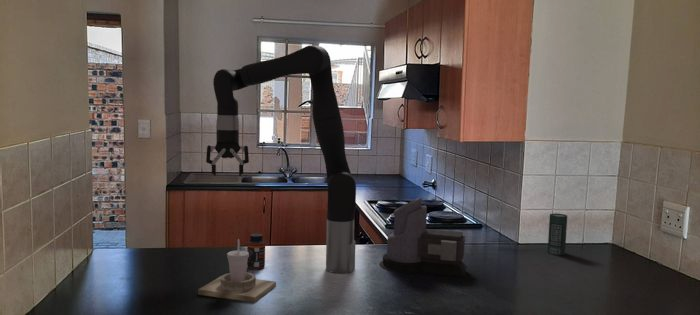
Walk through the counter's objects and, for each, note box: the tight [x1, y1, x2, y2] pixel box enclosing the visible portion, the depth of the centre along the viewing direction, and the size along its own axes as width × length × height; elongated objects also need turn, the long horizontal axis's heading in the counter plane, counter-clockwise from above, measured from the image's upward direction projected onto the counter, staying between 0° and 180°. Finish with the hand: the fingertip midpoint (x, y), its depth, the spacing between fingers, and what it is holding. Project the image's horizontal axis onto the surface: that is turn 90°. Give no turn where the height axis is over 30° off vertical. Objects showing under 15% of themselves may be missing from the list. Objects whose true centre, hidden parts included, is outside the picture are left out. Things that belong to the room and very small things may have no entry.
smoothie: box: [226, 238, 249, 282], centre depth 156 cm, size 6×6×14 cm
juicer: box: [378, 197, 468, 278], centre depth 183 cm, size 30×16×24 cm, turn 74°
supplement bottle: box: [246, 233, 266, 271], centre depth 178 cm, size 6×6×11 cm
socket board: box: [197, 271, 277, 303], centre depth 156 cm, size 18×14×4 cm
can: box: [547, 213, 568, 256], centre depth 206 cm, size 6×6×15 cm
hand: (227, 175), depth 184 cm, fingers open, 8 cm apart
